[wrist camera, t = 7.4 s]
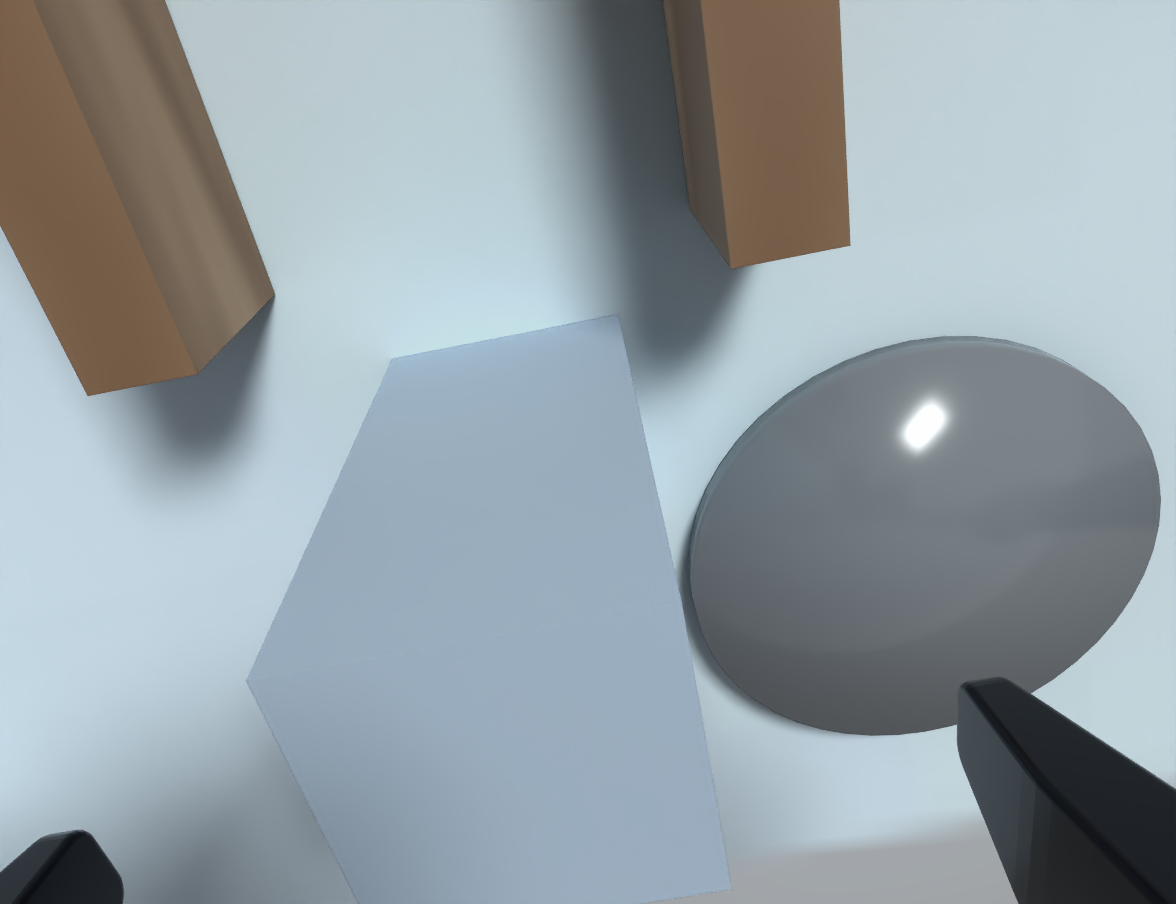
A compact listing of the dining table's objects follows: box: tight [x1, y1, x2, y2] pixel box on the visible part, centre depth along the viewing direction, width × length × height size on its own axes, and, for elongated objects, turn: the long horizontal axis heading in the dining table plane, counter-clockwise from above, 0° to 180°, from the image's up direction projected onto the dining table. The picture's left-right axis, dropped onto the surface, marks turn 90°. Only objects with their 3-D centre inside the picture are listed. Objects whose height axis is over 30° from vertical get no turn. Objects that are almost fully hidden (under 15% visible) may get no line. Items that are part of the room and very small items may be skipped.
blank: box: [246, 314, 732, 904], centre depth 12 cm, size 4×4×8 cm
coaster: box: [689, 336, 1161, 736], centre depth 17 cm, size 9×9×1 cm
